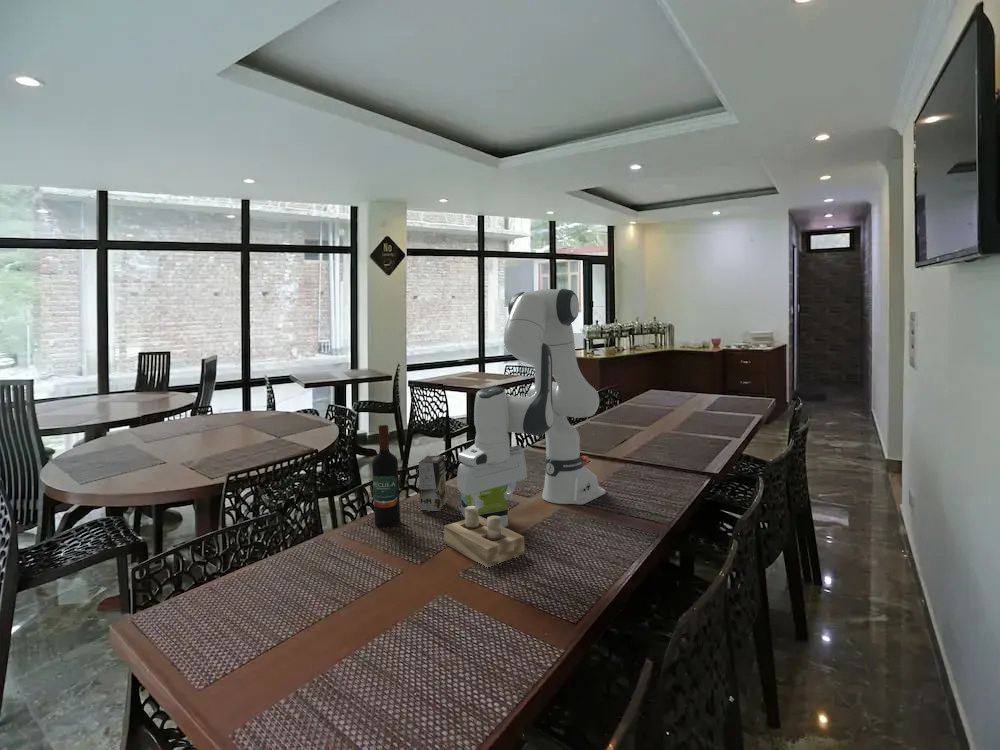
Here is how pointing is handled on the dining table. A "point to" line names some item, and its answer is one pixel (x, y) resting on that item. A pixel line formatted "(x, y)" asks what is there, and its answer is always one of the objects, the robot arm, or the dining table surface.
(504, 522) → the tea box
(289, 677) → the dining table surface
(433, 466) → the coffee box
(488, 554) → the wooden peg holder
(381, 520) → the wine bottle
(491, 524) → the birch peg
